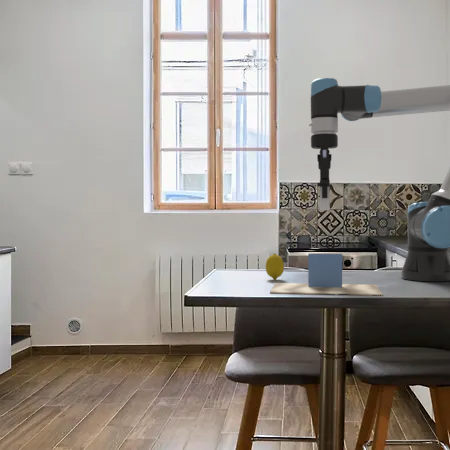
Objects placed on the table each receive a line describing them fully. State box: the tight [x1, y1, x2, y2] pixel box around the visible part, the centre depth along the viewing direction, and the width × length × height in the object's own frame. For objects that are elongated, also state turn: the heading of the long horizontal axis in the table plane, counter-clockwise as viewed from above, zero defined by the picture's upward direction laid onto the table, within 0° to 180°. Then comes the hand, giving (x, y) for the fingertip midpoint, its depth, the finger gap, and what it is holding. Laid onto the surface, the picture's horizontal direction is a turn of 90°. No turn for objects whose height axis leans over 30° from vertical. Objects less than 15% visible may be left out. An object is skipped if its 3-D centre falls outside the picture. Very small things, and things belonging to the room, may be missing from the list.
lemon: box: [265, 253, 285, 280], centre depth 179 cm, size 6×6×8 cm
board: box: [269, 282, 384, 297], centre depth 157 cm, size 28×18×1 cm, turn 81°
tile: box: [307, 252, 343, 287], centre depth 159 cm, size 9×2×9 cm, turn 81°
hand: (324, 210), depth 168 cm, fingers open, 12 cm apart
